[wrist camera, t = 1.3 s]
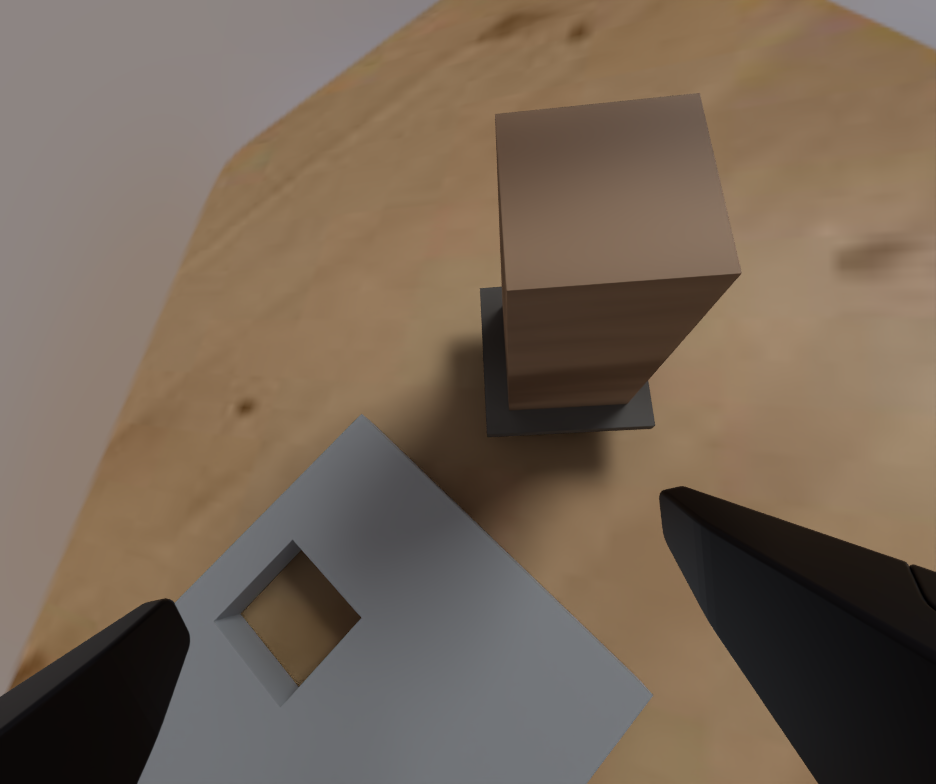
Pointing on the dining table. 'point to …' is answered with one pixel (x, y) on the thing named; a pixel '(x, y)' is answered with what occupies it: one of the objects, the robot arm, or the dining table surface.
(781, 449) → the dining table surface
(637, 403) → the walnut peg
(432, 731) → the slate board
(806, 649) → the robot arm
